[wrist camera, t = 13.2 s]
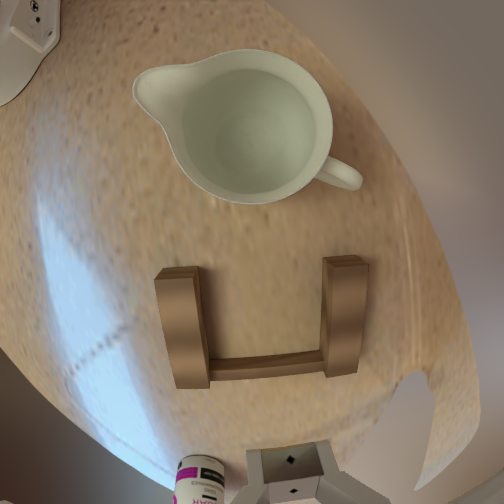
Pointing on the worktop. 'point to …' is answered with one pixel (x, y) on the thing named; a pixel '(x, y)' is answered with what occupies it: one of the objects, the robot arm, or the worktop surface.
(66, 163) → the worktop surface
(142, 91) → the pitcher
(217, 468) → the supplement can
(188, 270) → the holder
